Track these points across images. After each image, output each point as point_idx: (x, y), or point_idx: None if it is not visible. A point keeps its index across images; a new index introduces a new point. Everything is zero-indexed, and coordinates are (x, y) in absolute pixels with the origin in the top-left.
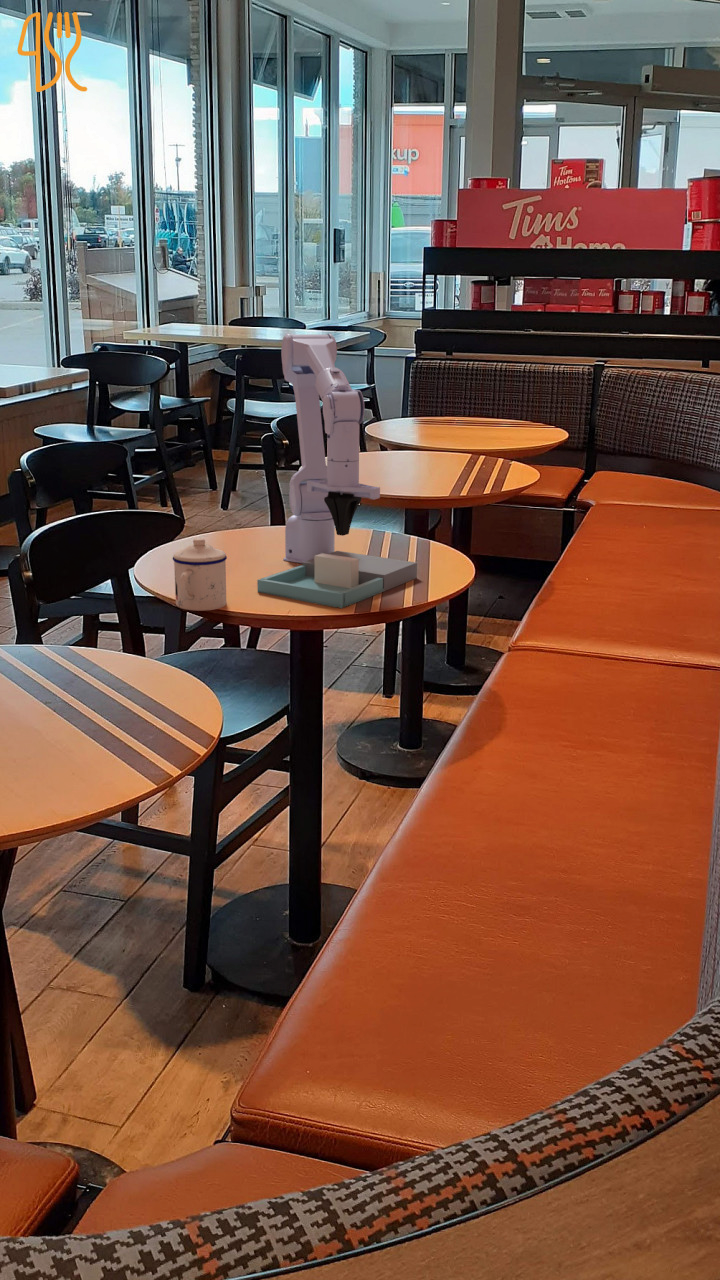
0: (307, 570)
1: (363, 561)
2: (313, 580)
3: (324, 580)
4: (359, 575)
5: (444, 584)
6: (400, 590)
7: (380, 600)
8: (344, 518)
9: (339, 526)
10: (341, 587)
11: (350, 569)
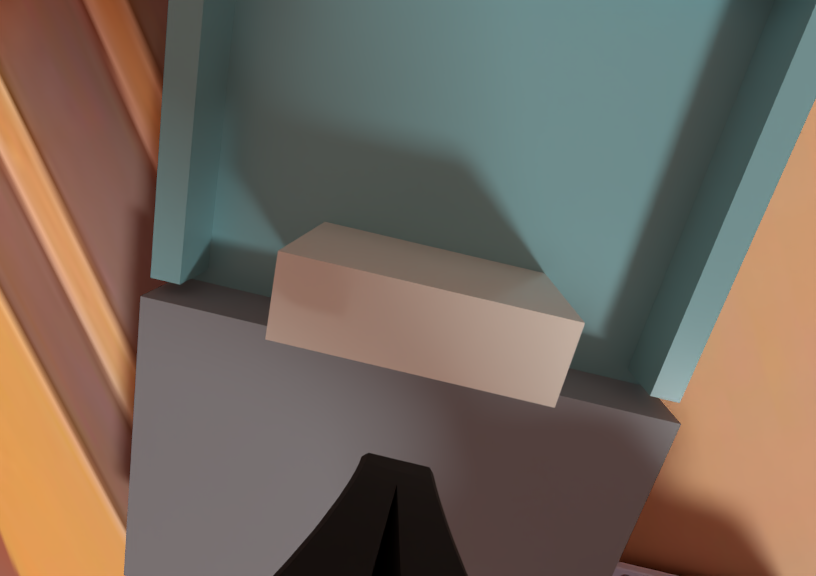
0: (629, 394)
1: None
2: None
3: (486, 264)
4: None
5: (27, 462)
6: (133, 315)
7: (128, 103)
8: (275, 574)
9: (381, 504)
10: (376, 222)
11: (301, 242)
